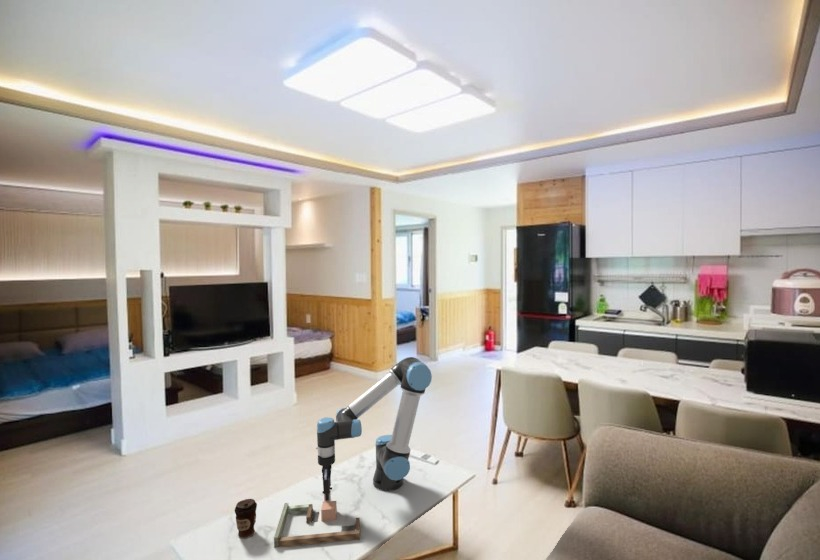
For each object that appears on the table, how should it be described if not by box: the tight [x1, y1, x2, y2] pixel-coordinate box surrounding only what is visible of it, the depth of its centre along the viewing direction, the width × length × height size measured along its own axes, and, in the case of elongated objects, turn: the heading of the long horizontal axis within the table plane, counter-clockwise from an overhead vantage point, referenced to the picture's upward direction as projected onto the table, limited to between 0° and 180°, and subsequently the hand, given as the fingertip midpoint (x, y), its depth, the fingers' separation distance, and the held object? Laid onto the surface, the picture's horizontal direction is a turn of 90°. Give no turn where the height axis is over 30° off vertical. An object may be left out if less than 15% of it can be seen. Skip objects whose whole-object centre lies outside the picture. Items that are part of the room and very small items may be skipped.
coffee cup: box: [234, 498, 258, 539], centre depth 167 cm, size 9×8×13 cm
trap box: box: [273, 502, 361, 548], centre depth 173 cm, size 33×23×4 cm
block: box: [320, 500, 338, 522], centre depth 178 cm, size 6×6×5 cm
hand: (327, 505), depth 183 cm, fingers closed
